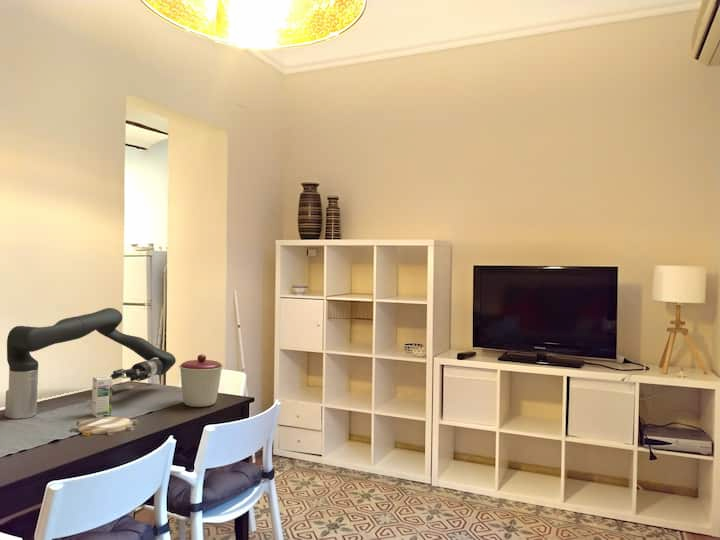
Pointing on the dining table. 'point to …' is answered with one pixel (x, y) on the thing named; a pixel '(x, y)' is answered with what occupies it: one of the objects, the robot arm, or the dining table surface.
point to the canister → (200, 381)
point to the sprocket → (104, 425)
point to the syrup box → (102, 395)
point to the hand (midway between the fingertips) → (121, 377)
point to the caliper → (120, 387)
